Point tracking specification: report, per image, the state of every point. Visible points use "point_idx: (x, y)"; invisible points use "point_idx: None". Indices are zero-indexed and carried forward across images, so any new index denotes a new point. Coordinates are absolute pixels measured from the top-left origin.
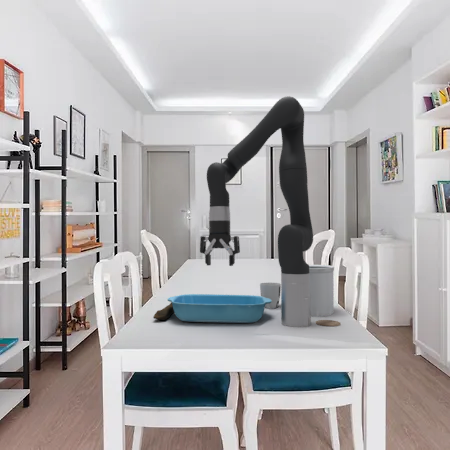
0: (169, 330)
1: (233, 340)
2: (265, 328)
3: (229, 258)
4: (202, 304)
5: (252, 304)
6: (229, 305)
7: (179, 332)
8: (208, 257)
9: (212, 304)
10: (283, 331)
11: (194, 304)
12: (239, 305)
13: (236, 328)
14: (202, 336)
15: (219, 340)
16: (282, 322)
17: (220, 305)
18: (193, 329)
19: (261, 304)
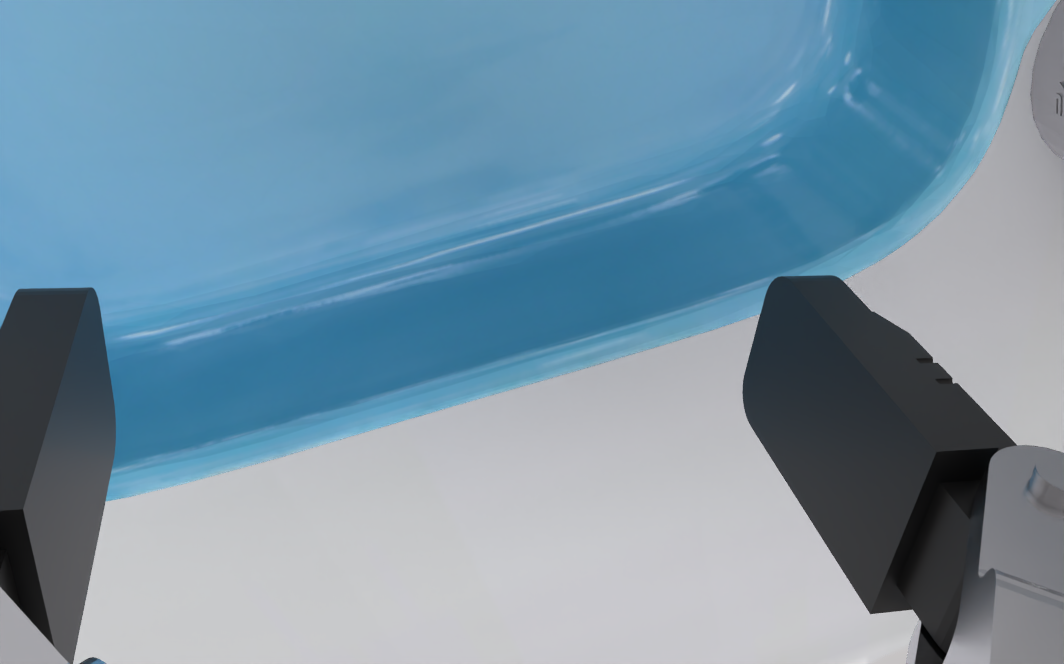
0: (136, 592)
1: (676, 616)
2: (876, 288)
3: (832, 543)
4: (298, 449)
5: (860, 270)
6: (606, 356)
7: (250, 605)
8: (78, 615)
9: (415, 416)
10: (1000, 328)
11: (203, 475)
12: (715, 322)
13: (646, 365)
14: (461, 620)
15: (594, 645)
16: (1047, 127)
17: (505, 384)
18: (310, 506)
19: (956, 189)
